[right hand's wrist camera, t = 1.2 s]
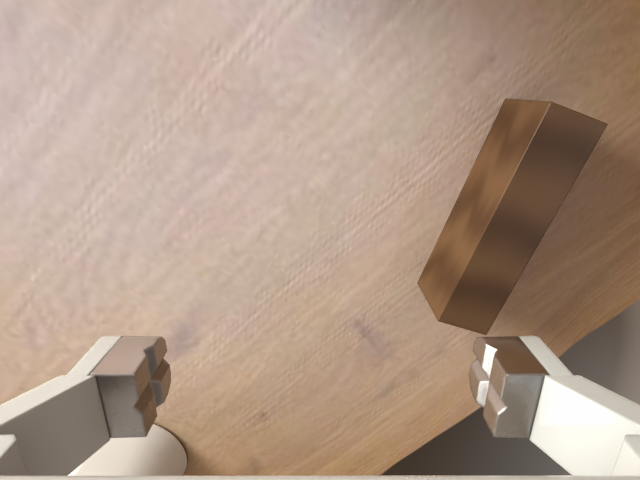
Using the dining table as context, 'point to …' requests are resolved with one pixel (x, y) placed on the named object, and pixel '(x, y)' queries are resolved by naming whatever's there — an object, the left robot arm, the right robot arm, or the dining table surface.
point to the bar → (505, 209)
